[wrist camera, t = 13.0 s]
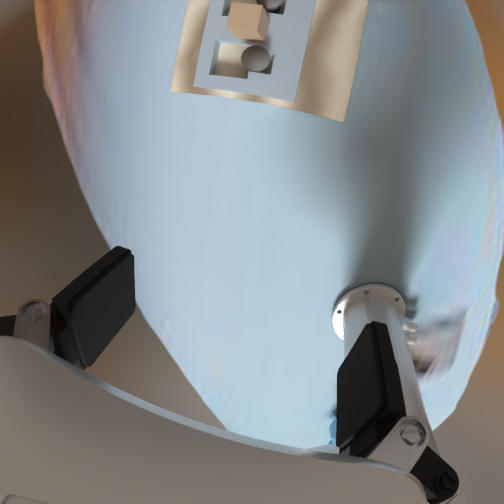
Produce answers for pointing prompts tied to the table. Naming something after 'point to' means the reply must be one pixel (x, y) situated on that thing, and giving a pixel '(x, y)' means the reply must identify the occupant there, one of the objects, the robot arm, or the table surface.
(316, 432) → the table surface
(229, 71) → the board
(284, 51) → the panel
